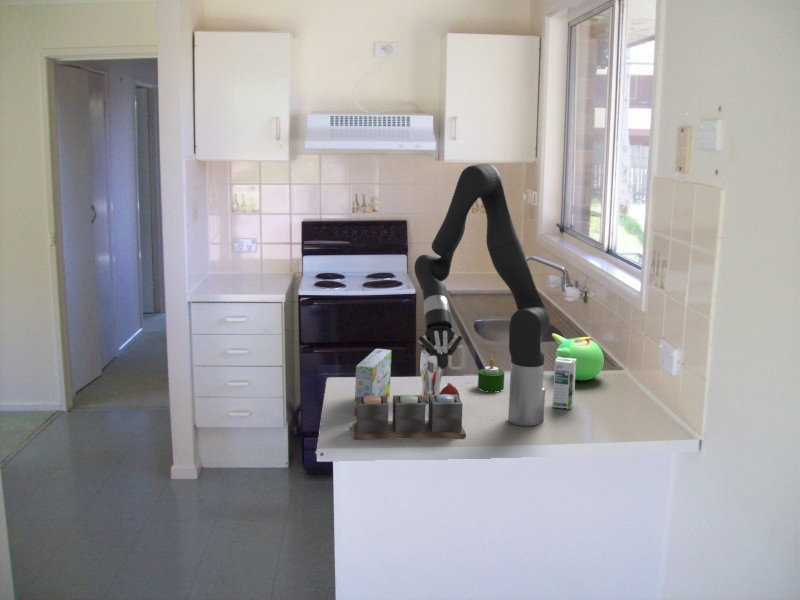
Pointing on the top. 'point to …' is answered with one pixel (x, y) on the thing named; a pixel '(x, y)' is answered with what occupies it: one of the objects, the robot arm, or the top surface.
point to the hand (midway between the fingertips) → (443, 367)
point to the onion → (449, 390)
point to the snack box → (373, 375)
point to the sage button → (408, 399)
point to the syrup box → (564, 383)
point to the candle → (491, 378)
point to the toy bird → (581, 355)
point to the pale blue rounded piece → (445, 398)
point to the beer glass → (430, 375)
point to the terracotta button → (372, 399)
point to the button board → (409, 419)
